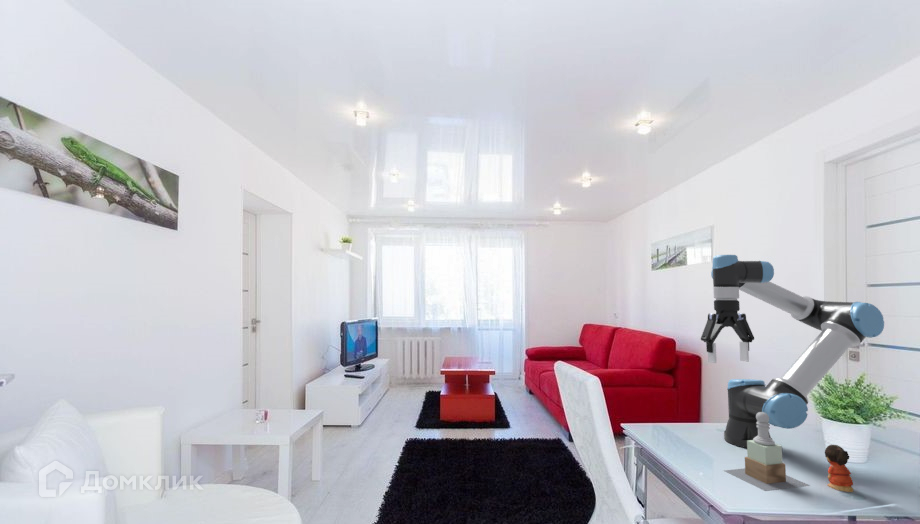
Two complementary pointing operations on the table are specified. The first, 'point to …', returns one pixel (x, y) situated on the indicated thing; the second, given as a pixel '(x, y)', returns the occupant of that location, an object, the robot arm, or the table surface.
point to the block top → (764, 453)
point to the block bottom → (765, 471)
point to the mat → (766, 487)
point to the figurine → (838, 469)
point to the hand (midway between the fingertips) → (728, 361)
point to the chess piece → (763, 430)
